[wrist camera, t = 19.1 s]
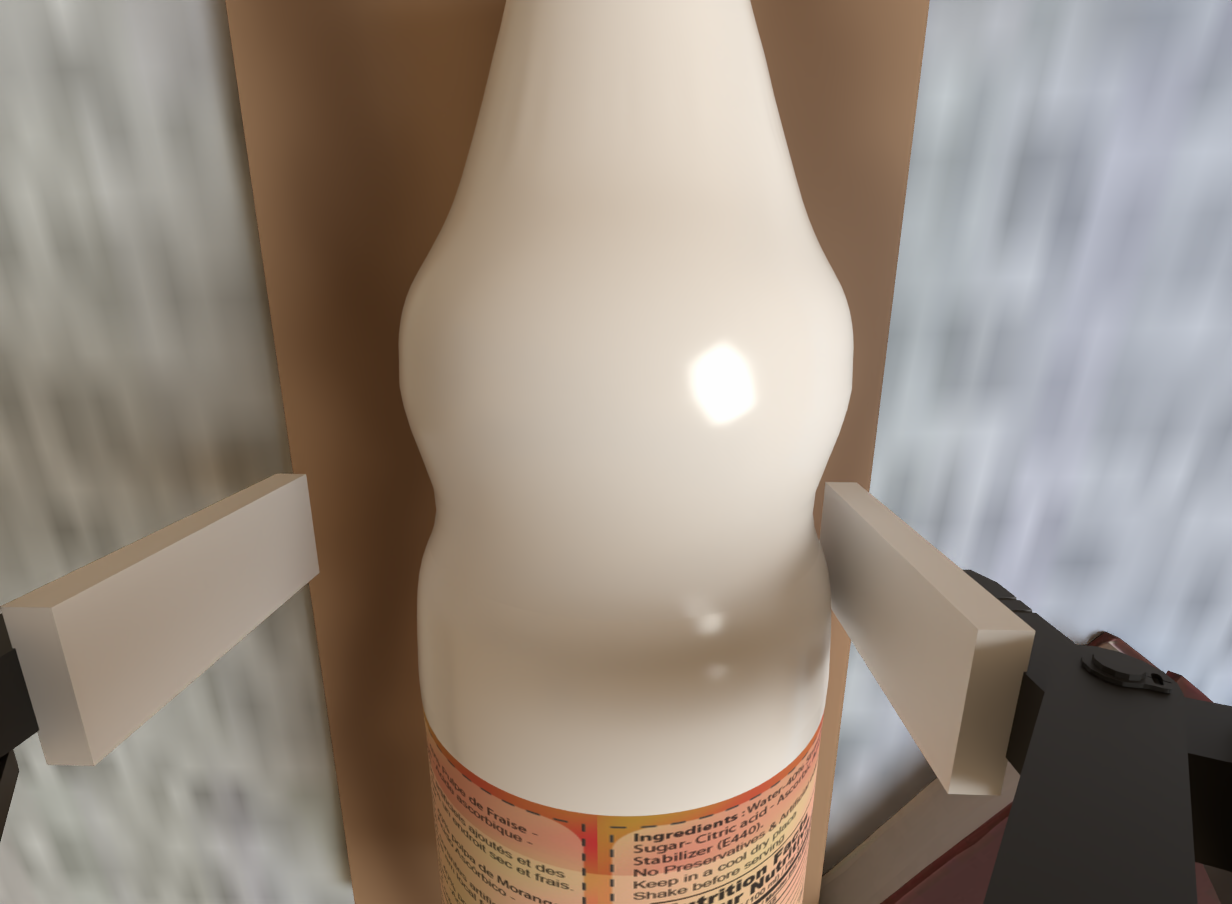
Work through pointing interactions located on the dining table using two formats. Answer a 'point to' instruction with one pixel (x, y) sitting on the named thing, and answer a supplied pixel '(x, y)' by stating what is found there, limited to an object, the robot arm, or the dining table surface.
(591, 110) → the fruit juice
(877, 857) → the book
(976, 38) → the dining table surface
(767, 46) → the walnut board
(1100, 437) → the dining table surface
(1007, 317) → the dining table surface
